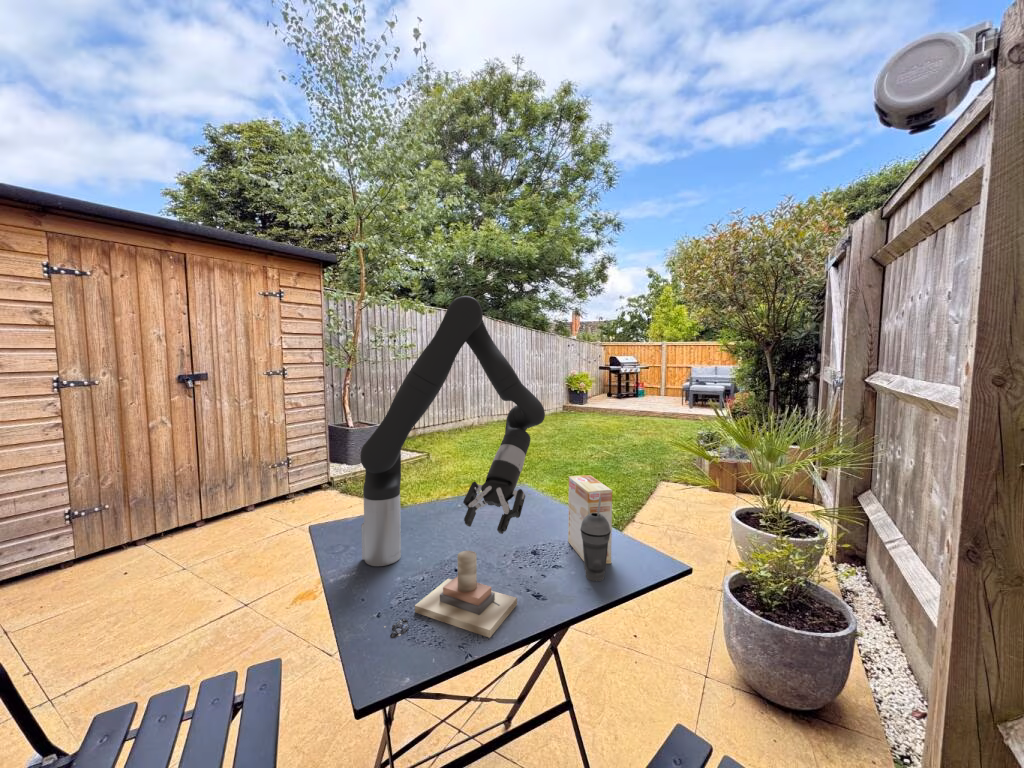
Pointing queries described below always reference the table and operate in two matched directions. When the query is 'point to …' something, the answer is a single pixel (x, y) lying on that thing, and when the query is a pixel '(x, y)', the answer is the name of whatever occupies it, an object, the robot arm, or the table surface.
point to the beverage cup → (595, 544)
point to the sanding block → (467, 587)
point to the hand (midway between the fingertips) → (483, 528)
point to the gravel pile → (399, 628)
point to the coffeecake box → (587, 508)
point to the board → (467, 612)
